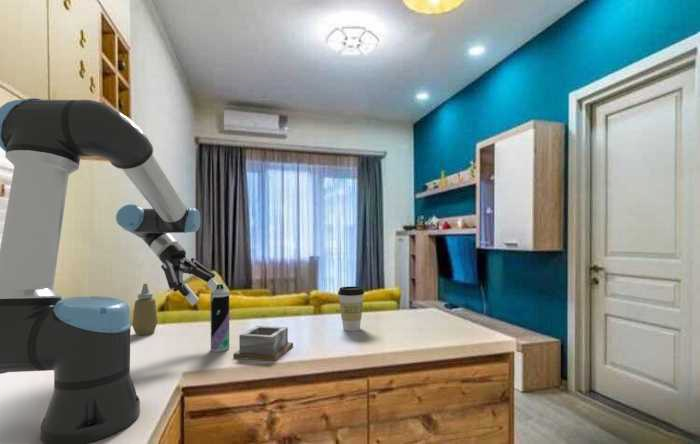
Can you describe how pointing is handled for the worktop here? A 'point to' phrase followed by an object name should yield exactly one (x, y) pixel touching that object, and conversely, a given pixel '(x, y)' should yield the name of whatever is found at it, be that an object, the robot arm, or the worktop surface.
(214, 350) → the spray can
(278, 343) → the socket stand
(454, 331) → the worktop surface
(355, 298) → the coffee cup
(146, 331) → the squeeze bottle
